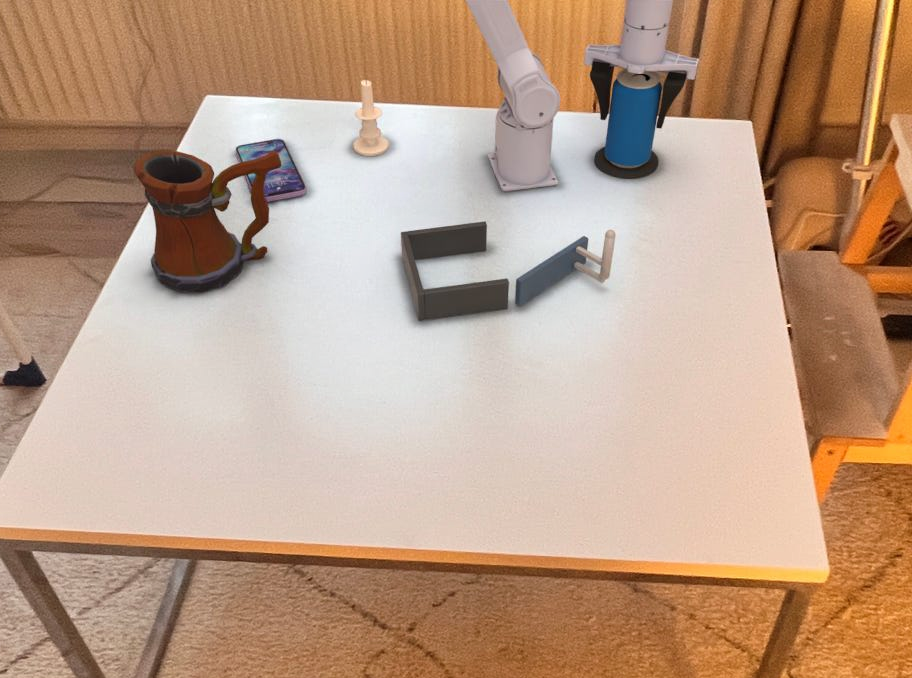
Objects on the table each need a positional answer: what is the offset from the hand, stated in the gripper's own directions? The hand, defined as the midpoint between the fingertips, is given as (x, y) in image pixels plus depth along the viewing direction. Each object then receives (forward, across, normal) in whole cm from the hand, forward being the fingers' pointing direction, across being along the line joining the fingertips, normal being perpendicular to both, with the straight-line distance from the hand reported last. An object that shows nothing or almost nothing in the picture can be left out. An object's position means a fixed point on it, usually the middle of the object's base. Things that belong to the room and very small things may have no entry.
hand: (632, 120), depth 127 cm
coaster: (+6, 0, 0) cm, 6 cm away
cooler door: (+6, -1, -32) cm, 32 cm away
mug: (+6, -43, -39) cm, 59 cm away
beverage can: (+6, 0, 0) cm, 6 cm away
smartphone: (+6, -47, -18) cm, 51 cm away
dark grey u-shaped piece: (+6, -14, -34) cm, 37 cm away
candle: (+6, -36, -7) cm, 38 cm away
